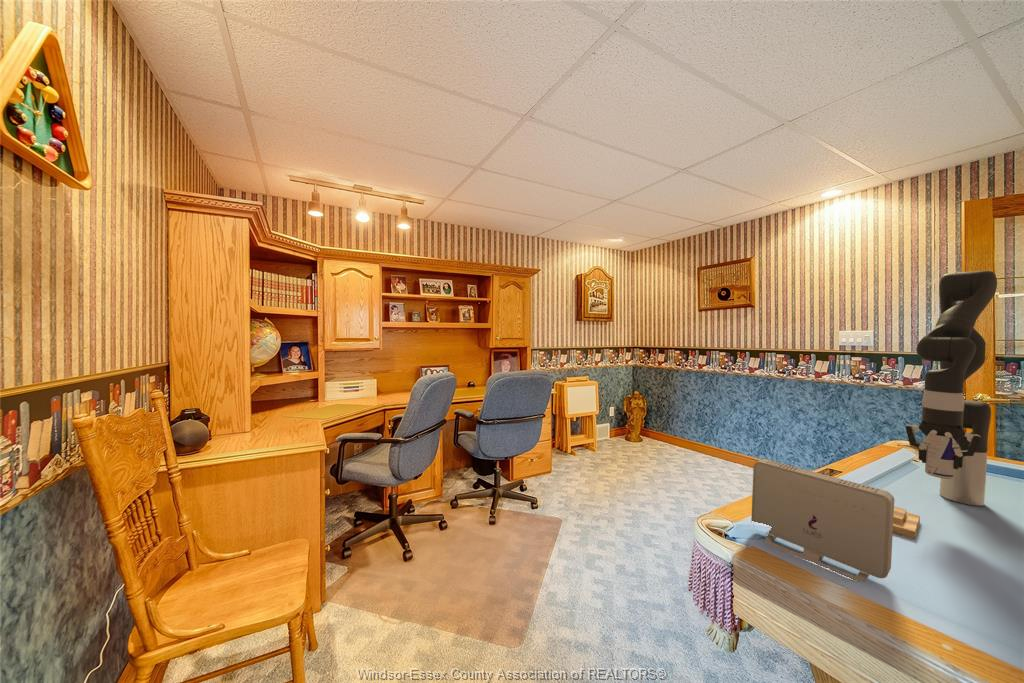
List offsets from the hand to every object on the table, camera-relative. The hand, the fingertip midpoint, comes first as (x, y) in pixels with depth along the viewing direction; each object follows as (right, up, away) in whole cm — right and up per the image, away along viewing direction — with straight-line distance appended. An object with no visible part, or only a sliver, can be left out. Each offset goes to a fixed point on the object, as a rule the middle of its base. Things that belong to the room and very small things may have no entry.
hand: (939, 465), depth 102 cm
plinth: (-14, -17, +2) cm, 22 cm away
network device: (-49, -17, -15) cm, 54 cm away
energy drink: (0, -3, 0) cm, 3 cm away
